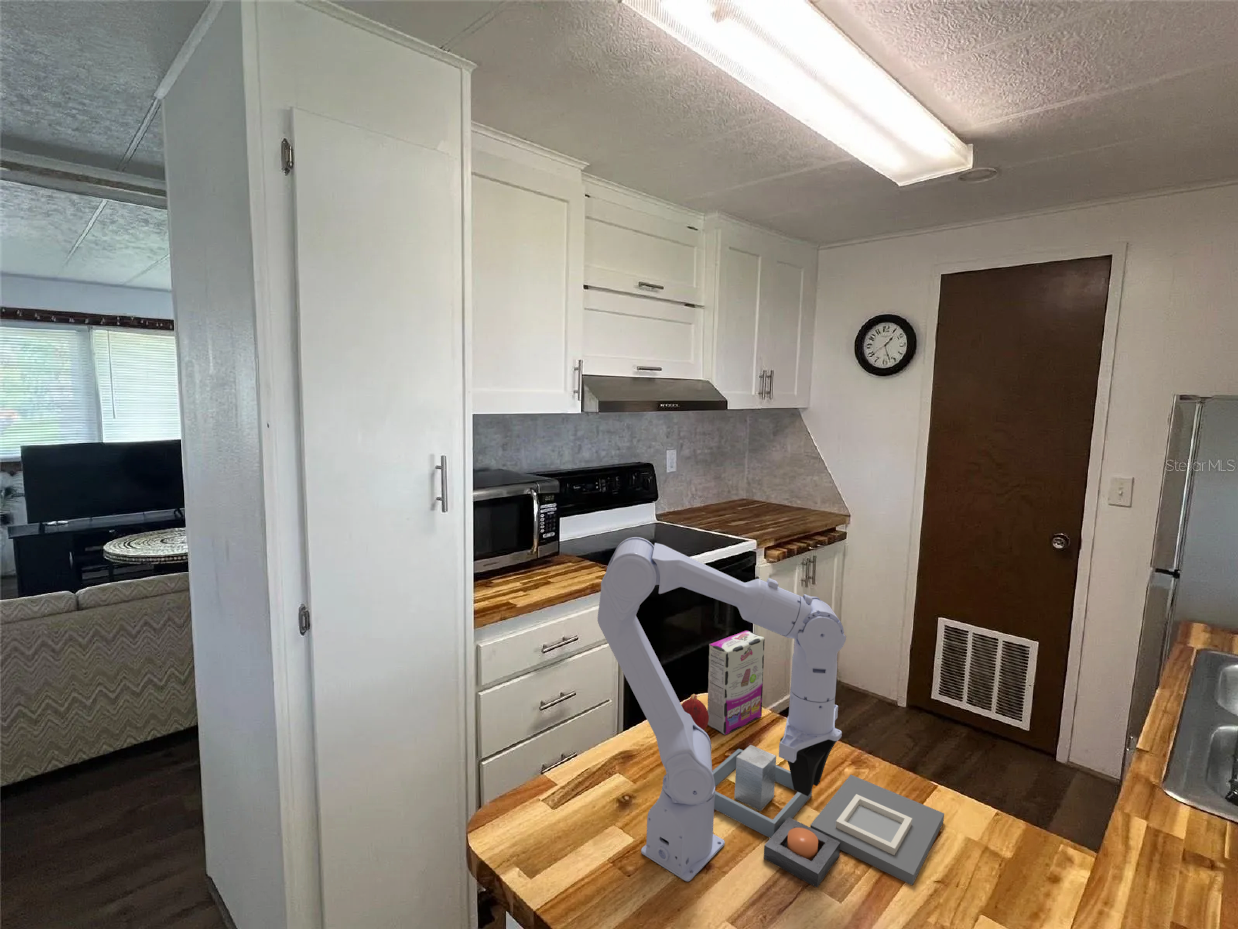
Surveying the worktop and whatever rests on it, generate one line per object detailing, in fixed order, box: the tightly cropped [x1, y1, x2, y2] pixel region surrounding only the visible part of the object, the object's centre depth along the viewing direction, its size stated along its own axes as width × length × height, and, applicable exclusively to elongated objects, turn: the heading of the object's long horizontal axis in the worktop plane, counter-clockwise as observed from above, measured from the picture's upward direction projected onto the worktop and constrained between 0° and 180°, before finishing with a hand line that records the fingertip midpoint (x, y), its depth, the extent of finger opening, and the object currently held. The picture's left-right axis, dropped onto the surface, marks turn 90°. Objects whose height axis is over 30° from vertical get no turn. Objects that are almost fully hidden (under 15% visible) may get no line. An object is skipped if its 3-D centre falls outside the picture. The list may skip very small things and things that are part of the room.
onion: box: [681, 693, 709, 731], centre depth 115 cm, size 6×6×8 cm
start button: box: [787, 828, 818, 861], centre depth 86 cm, size 4×4×2 cm
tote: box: [712, 748, 813, 839], centre depth 98 cm, size 13×13×2 cm
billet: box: [733, 744, 777, 812], centre depth 98 cm, size 4×4×7 cm
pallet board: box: [809, 774, 945, 886], centre depth 92 cm, size 16×14×2 cm
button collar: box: [763, 817, 841, 888], centre depth 86 cm, size 8×8×2 cm
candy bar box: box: [706, 630, 766, 736], centre depth 120 cm, size 11×5×16 cm, turn 129°
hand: (806, 787), depth 85 cm, fingers open, 2 cm apart
